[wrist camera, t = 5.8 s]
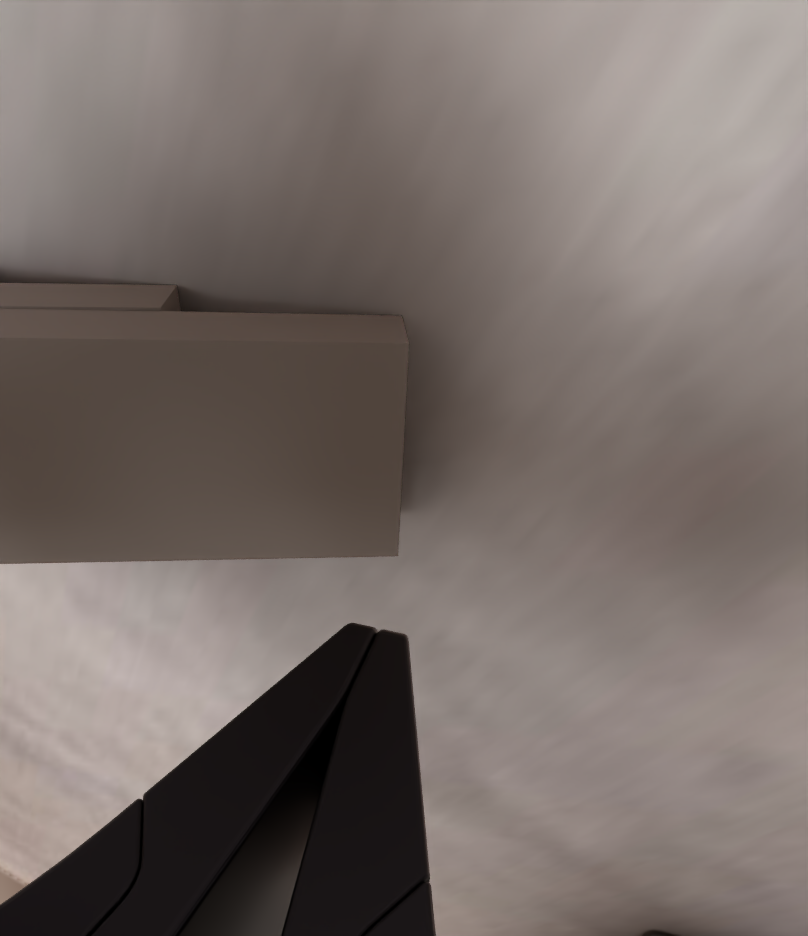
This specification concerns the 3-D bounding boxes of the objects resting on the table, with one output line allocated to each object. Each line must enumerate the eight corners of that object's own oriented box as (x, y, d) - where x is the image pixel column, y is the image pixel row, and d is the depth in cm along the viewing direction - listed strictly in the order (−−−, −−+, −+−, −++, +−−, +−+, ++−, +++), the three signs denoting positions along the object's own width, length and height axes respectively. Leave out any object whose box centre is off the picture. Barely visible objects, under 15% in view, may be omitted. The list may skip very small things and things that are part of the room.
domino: (408, 343, 12) (-183, 334, 11) (397, 556, 14) (-80, 565, 13) (402, 315, 13) (-124, 305, 12) (392, 514, 16) (-41, 520, 15)
